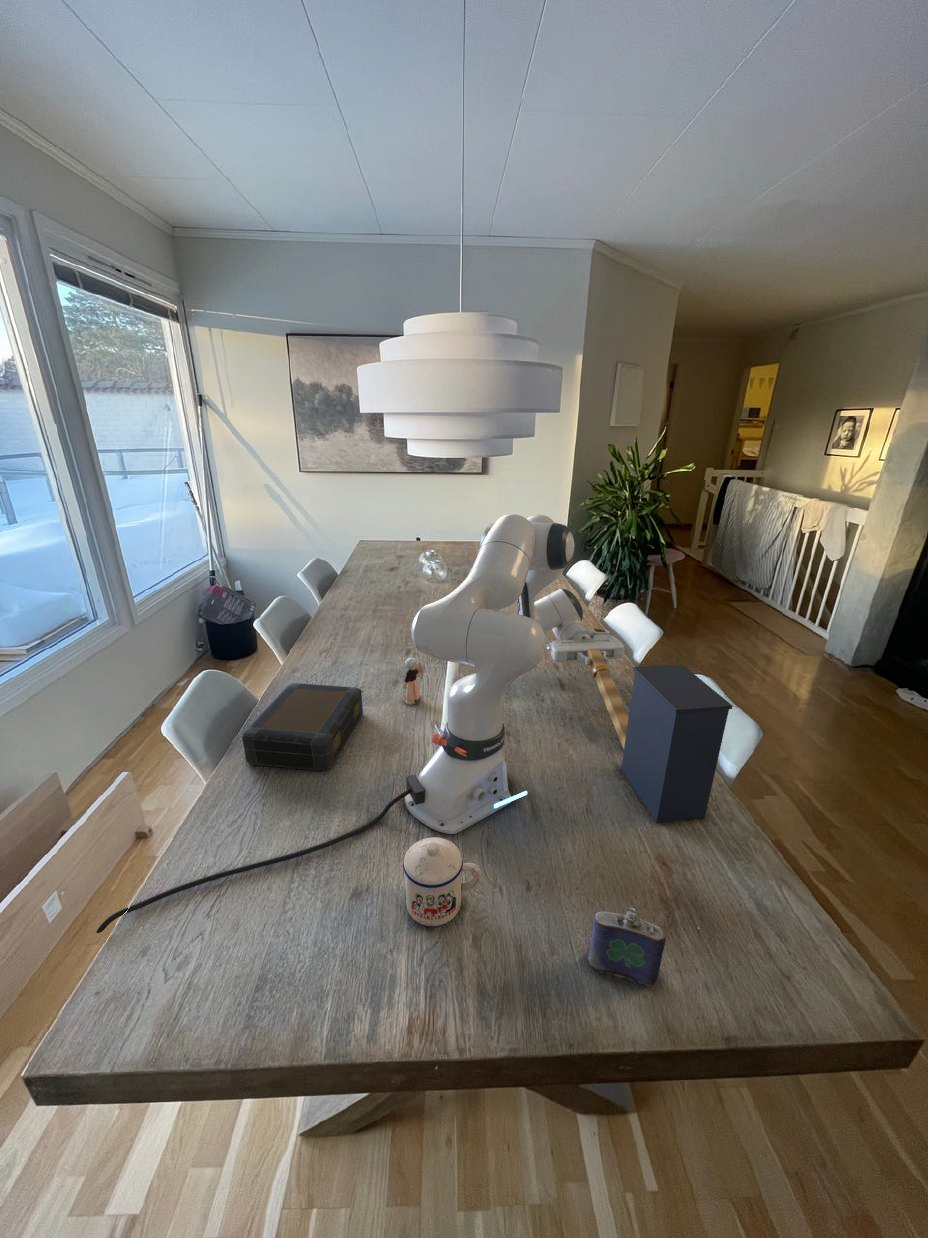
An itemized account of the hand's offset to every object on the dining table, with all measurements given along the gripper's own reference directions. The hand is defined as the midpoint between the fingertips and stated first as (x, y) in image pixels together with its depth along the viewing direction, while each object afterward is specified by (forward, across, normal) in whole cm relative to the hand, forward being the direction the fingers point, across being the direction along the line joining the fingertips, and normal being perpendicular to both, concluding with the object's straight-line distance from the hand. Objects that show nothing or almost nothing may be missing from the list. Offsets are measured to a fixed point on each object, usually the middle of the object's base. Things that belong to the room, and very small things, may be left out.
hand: (597, 662), depth 136 cm
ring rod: (+9, 0, +6) cm, 11 cm away
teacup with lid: (+57, -48, +12) cm, 75 cm away
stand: (+37, 0, +12) cm, 39 cm away
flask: (+71, -24, +12) cm, 76 cm away
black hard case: (+7, -75, +12) cm, 76 cm away
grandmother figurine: (-7, -49, +12) cm, 51 cm away
